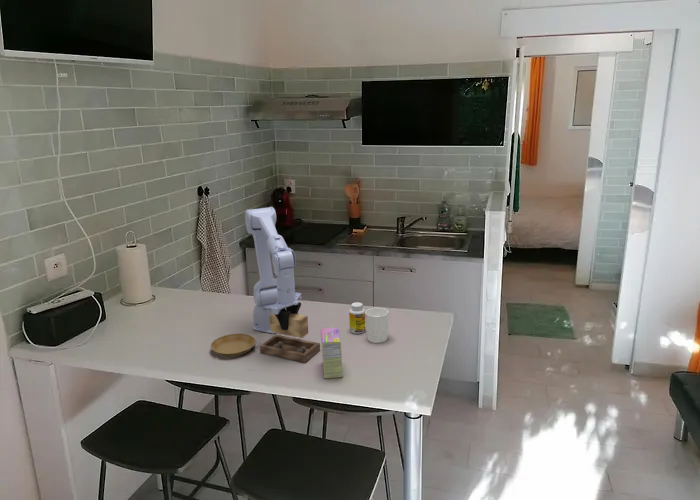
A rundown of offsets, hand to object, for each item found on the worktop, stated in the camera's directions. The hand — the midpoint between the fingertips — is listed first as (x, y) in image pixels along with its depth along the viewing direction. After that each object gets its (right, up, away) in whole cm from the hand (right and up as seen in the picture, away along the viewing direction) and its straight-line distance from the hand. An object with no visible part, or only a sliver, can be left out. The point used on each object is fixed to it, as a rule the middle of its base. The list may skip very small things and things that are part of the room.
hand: (288, 326), depth 175 cm
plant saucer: (-19, -9, +6) cm, 22 cm away
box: (+14, -12, -10) cm, 21 cm away
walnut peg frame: (0, -9, +2) cm, 9 cm away
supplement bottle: (+23, -4, +16) cm, 28 cm away
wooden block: (0, -2, 0) cm, 2 cm away
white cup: (+29, -6, +10) cm, 31 cm away
